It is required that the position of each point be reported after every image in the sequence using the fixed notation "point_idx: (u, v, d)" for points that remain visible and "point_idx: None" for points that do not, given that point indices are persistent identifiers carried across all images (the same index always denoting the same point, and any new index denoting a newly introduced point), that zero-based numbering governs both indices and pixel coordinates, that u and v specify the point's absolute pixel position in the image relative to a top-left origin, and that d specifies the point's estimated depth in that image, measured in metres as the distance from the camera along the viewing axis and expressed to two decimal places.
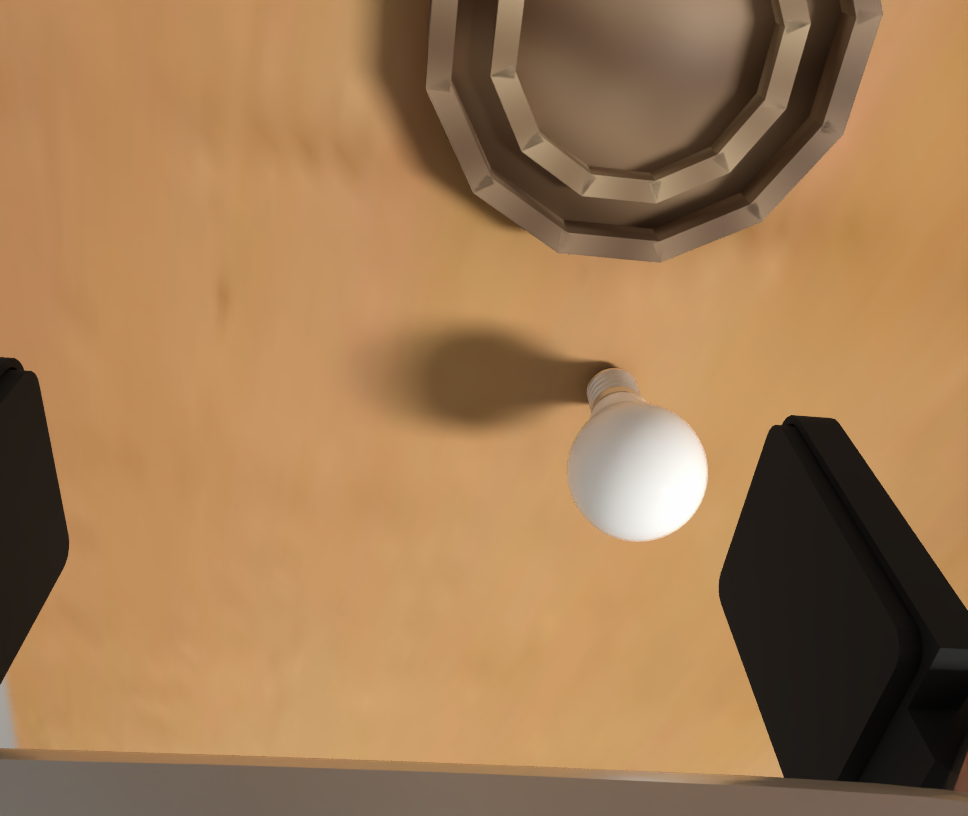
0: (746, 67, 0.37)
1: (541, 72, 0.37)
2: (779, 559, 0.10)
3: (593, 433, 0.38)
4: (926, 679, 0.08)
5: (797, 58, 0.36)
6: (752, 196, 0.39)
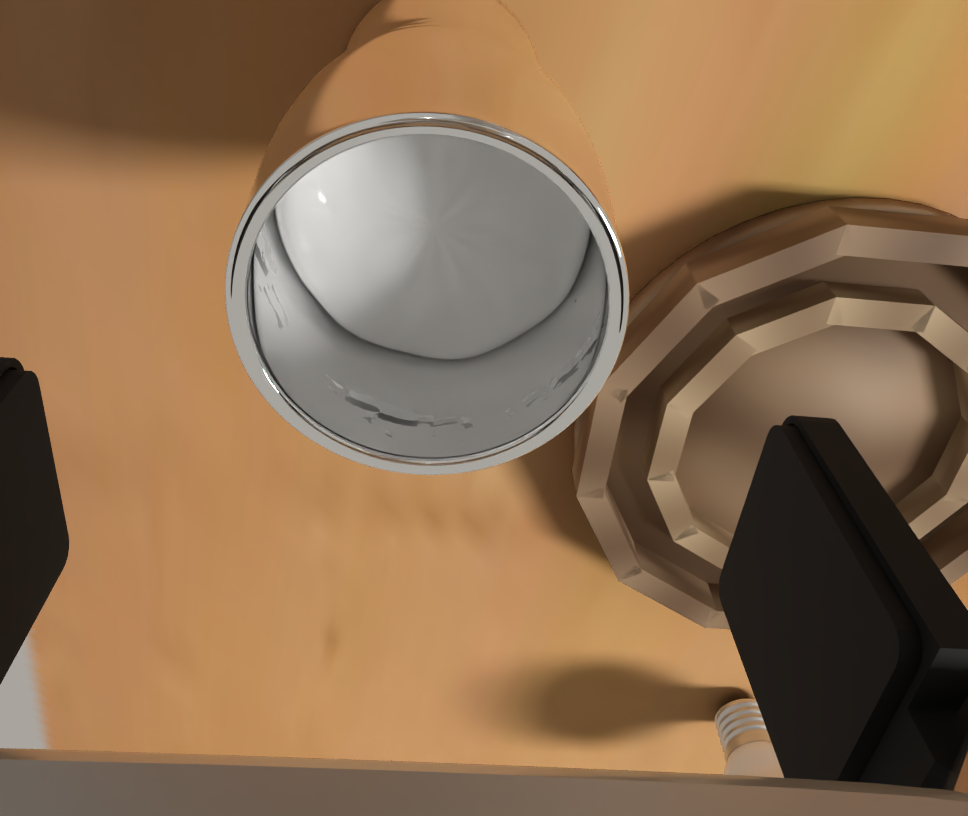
0: (924, 453, 0.34)
1: (698, 461, 0.34)
2: (779, 559, 0.10)
3: None
4: (926, 679, 0.08)
5: None
6: None
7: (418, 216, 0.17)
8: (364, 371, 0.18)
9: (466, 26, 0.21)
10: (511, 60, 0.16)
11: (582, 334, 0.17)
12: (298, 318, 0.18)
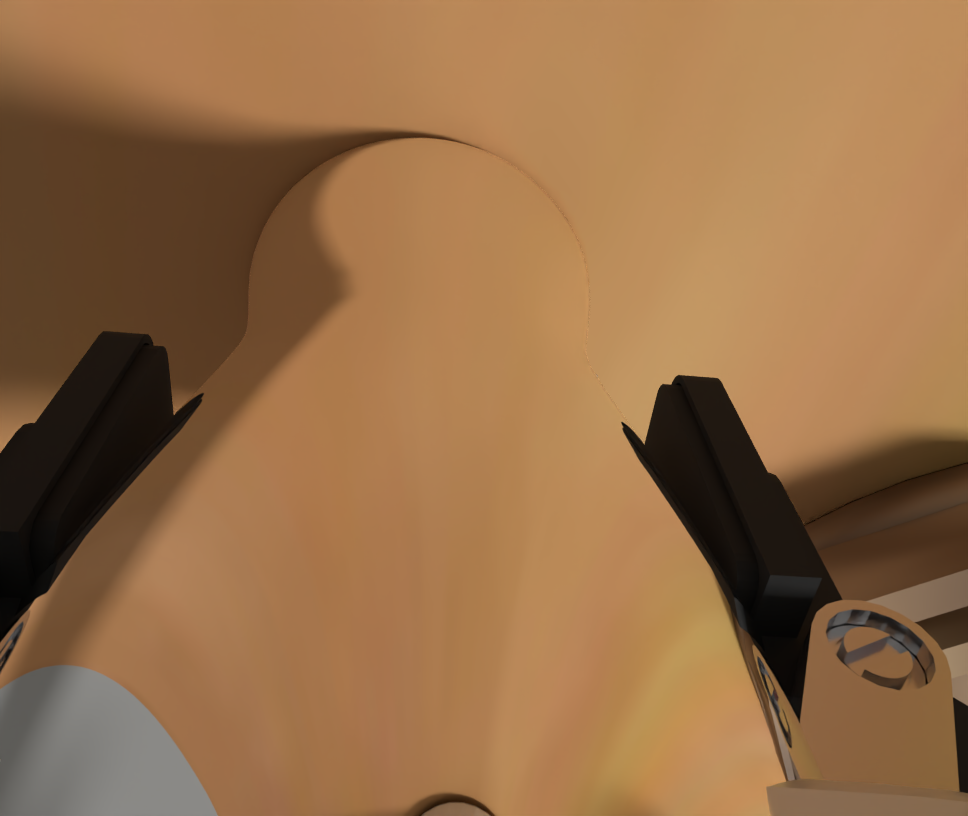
0: None
1: None
2: None
3: None
4: (762, 606, 0.08)
5: None
6: None
7: None
8: None
9: (463, 270, 0.11)
10: (611, 646, 0.05)
11: None
12: None
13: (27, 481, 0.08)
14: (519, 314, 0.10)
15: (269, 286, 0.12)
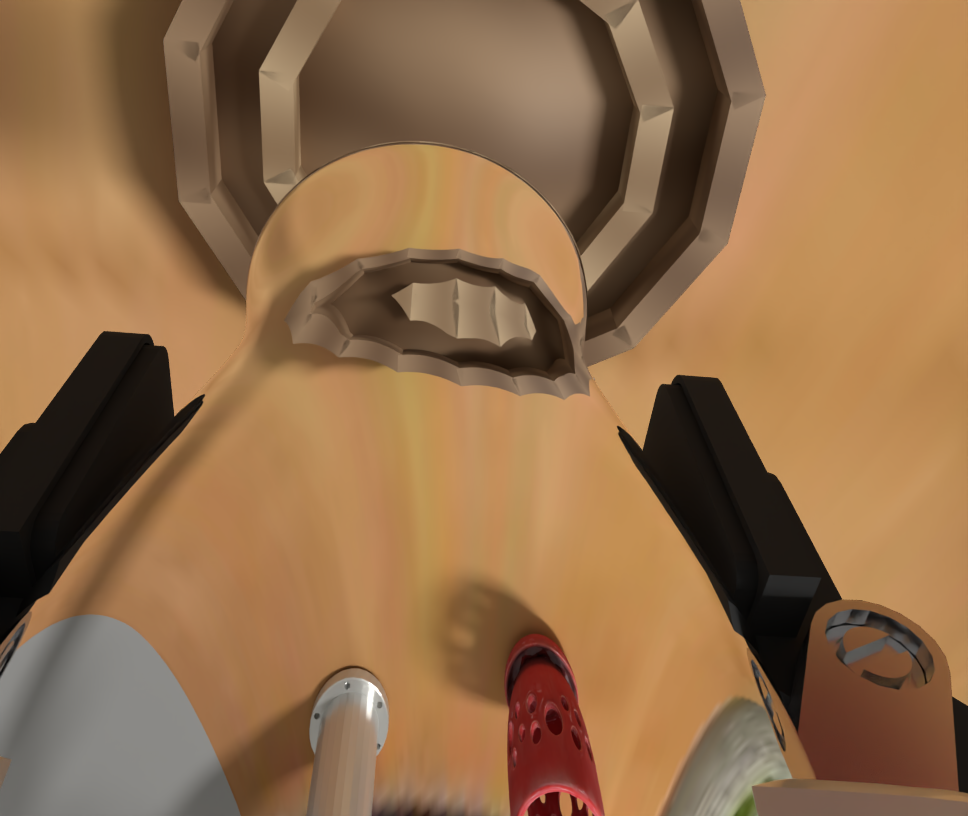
0: (602, 159, 0.29)
1: None
2: None
3: None
4: (761, 606, 0.08)
5: (660, 151, 0.28)
6: (620, 317, 0.31)
7: None
8: None
9: (460, 274, 0.11)
10: (607, 653, 0.05)
11: None
12: None
13: (28, 481, 0.08)
14: (516, 318, 0.10)
15: (267, 290, 0.12)
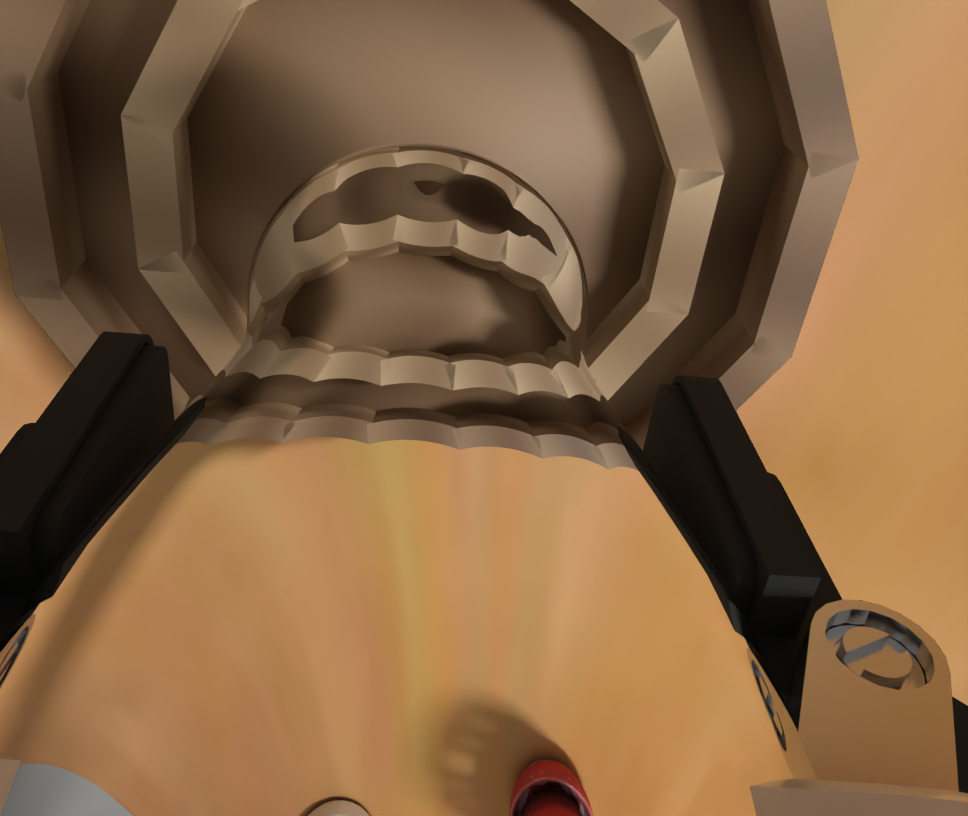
0: (618, 238, 0.21)
1: (249, 252, 0.21)
2: None
3: None
4: (762, 606, 0.08)
5: (703, 232, 0.19)
6: None
7: None
8: None
9: (462, 276, 0.11)
10: (610, 658, 0.05)
11: None
12: None
13: (28, 481, 0.08)
14: (518, 320, 0.10)
15: (268, 291, 0.12)
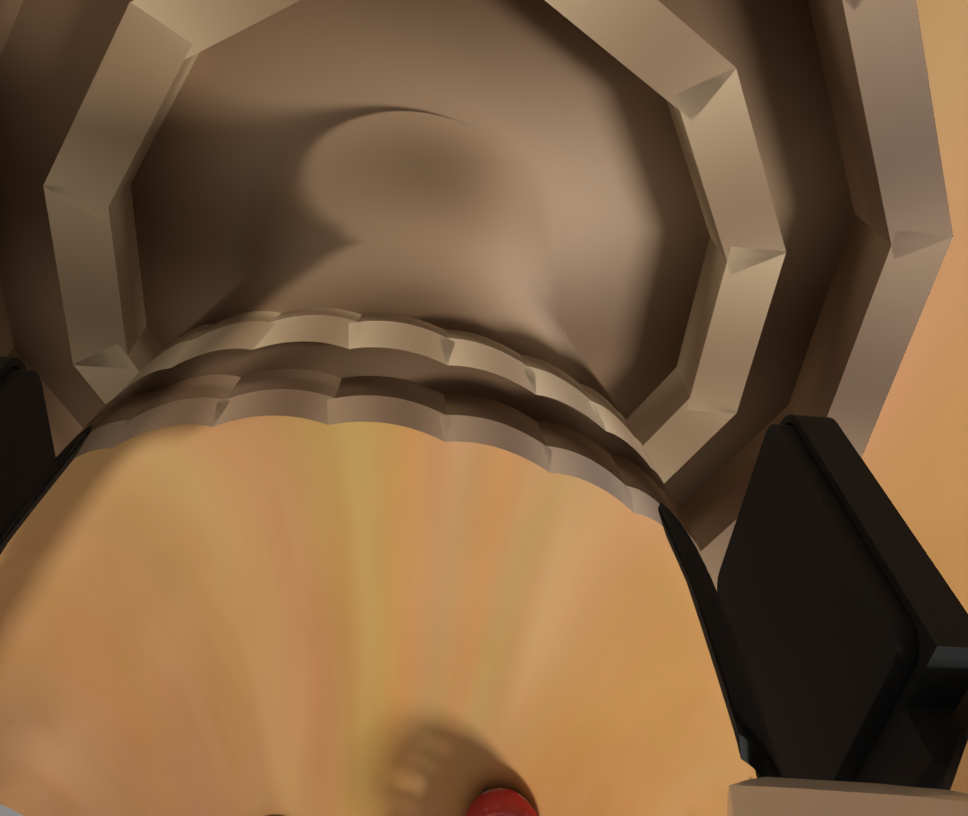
0: (652, 320, 0.17)
1: None
2: (777, 558, 0.10)
3: None
4: (922, 677, 0.08)
5: (757, 320, 0.16)
6: None
7: None
8: None
9: (437, 227, 0.11)
10: (538, 512, 0.06)
11: None
12: None
13: None
14: (487, 265, 0.11)
15: (256, 248, 0.13)
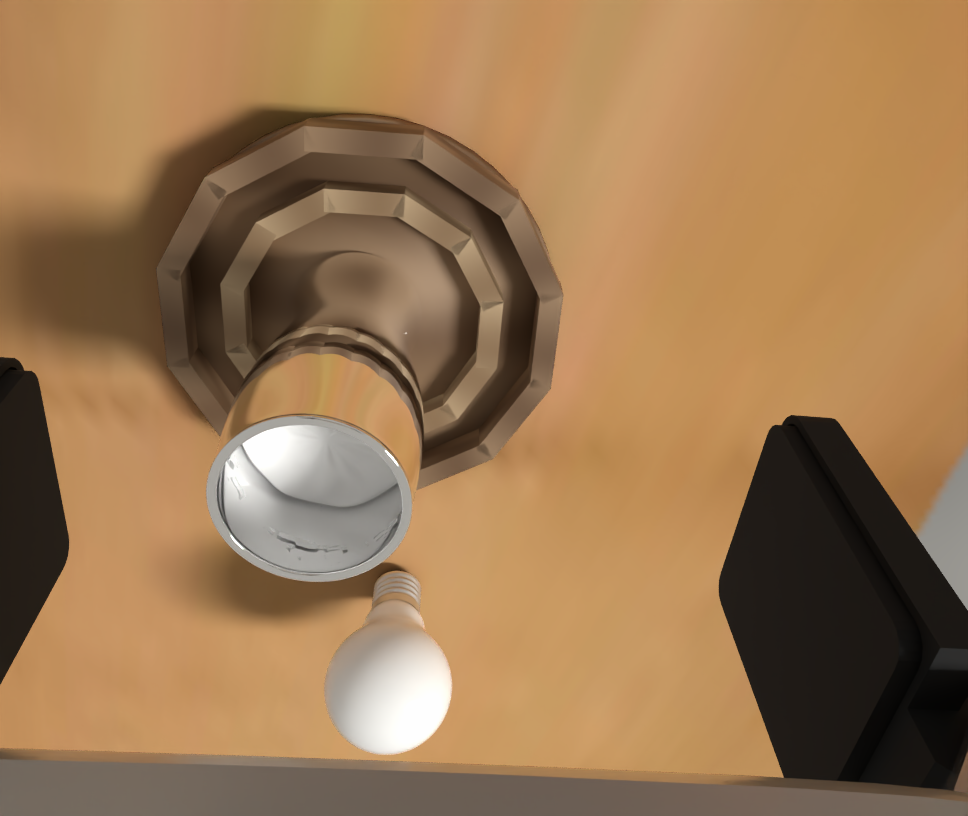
0: (462, 331, 0.41)
1: None
2: (779, 559, 0.10)
3: (339, 658, 0.42)
4: (926, 679, 0.08)
5: (497, 329, 0.40)
6: (482, 437, 0.43)
7: (316, 434, 0.31)
8: (290, 518, 0.32)
9: (358, 299, 0.36)
10: (359, 359, 0.30)
11: None
12: (251, 490, 0.31)
13: None
14: (371, 311, 0.35)
15: (299, 305, 0.37)
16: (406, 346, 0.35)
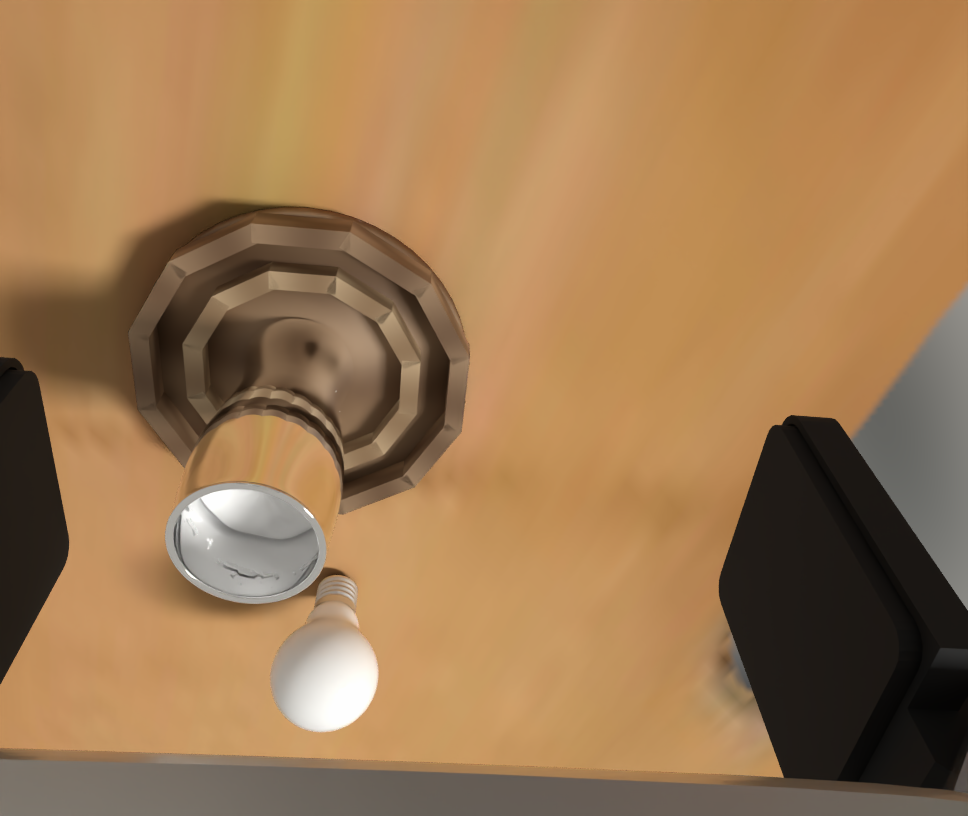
0: (388, 382, 0.49)
1: (232, 388, 0.49)
2: (779, 559, 0.10)
3: (282, 652, 0.50)
4: (926, 679, 0.08)
5: (416, 383, 0.48)
6: (405, 469, 0.51)
7: None
8: (235, 549, 0.40)
9: (295, 365, 0.43)
10: (288, 429, 0.37)
11: None
12: (203, 527, 0.39)
13: None
14: (305, 377, 0.42)
15: (248, 366, 0.45)
16: (333, 406, 0.43)
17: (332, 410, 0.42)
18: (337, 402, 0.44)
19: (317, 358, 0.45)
